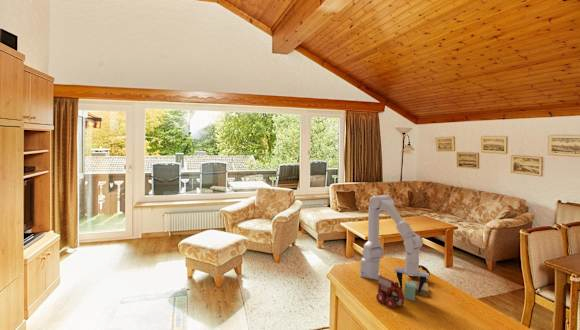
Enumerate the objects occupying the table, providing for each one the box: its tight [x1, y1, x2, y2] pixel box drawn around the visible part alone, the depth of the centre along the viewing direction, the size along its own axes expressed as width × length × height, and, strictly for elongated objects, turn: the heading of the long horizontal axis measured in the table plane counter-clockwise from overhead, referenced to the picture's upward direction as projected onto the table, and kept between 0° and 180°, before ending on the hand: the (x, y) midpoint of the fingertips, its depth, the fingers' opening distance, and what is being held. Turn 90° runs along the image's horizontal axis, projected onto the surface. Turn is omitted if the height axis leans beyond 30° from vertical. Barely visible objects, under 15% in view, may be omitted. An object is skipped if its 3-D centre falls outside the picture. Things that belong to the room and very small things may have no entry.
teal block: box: [403, 281, 416, 302], centre depth 141 cm, size 4×4×6 cm
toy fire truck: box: [376, 275, 405, 309], centre depth 135 cm, size 7×12×10 cm, turn 39°
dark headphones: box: [407, 264, 431, 282], centre depth 160 cm, size 12×9×8 cm
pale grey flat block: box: [409, 279, 429, 297], centre depth 148 cm, size 8×8×3 cm
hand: (410, 290), depth 141 cm, fingers open, 7 cm apart
